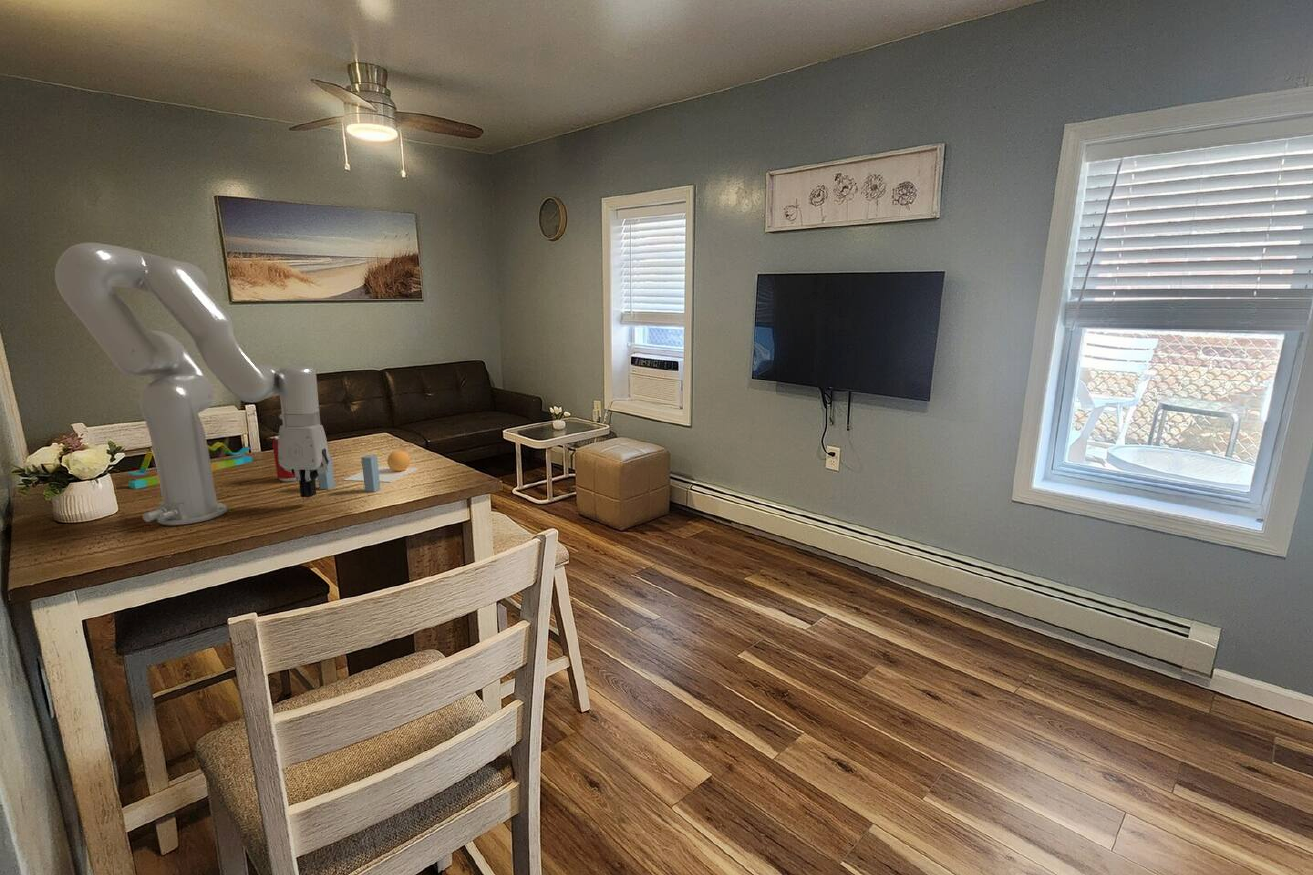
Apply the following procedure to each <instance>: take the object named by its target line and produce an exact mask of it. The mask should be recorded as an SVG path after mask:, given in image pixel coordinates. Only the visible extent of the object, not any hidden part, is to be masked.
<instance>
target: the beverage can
mask: <svg viewBox="0 0 1313 875" xmlns="http://www.w3.org/2000/svg"><path fill="white" fill-rule="evenodd" d="M278 436H279V435H277V436H275V437H274V440H273V442H272V448H273V450H272V451H273V455H274V463H275V470H276V477H277V479H279V480H280V481H281V482H294V481H297V480H296V477H295V475H294V474H293V473H292V472H289V471H286V470H284V468H283V467H281V466H280V464H279V457H278Z"/></svg>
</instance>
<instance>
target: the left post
mask: <svg viewBox="0 0 1313 875" xmlns="http://www.w3.org/2000/svg"><path fill="white" fill-rule="evenodd" d="M327 467H328V472H326V473H323V474H319V475H318V478H317V482H318V483H317V484H318V490H325V491H327V490H328V491H329V490H331V489H333V488H335V487H336V486H335V484H336V483H335V478H334V476H335V475H334V468H333V459H332V454H331V453H329V464H328V465H327ZM318 469H319V467H318Z"/></svg>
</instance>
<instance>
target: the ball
mask: <svg viewBox="0 0 1313 875" xmlns="http://www.w3.org/2000/svg"><path fill="white" fill-rule="evenodd" d="M386 464H387V467H390V468H391V469H392V470H394V471H403V470H405V469H407V468H409V467H410V464H411V458H410V455H409V454H408V453H407V452H406V451H403V450H394V451H393V452H391V453H389V455H388V456H387V463H386Z"/></svg>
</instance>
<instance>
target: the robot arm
mask: <svg viewBox="0 0 1313 875" xmlns="http://www.w3.org/2000/svg"><path fill="white" fill-rule="evenodd" d="M54 280H55V285H56V288H57V290H58V292H59V294H60V295H61V297H62V299H63V301H64V302H65V303H66V305H67V306H68V307H69V308H70V309H71V311H72V312H73V313H74V314H75V315H76V317H77V318H78V319H79V320H80V321H81V323H82V324H83V325H84V326H85V327H86V329H87V331H88V332H89V334H90V335H91V336H92V338H93V339H94V340H95V341H96V342H97V345H99V346H100V347H101V349H102V350H103V352H104V353H105V354H106V355H107V357H108V358H109V359H110V360H111V362H112V363H113V364H114V365H115V367H116V368H118V370H119V371H121V372H122V373H124V374H126V375H128V376H132V377H146V376H147V377H149V378H150V379H151V380H152V381H151V382H149V383H148V384H146V386H145V387H144V388H143V389H142V390H141V392H140V395H139V407H140V411H141V414H142V417H143V419H144V422H145V424H146V428H147V430H148V434H149V437H150V443H151V448H152V452H153V453H154V456H153V458H154V461H155V467H156V473H157V475H158V478H159V488H160V493H161V499H162V501H161V502H159V503H158V507H157V508H156V509H155V510H151V511H149V512H145V513H143V515H142V519H143V520H144V521H145V522H146V523H150V522H152V521H155V520H157V523H158V524H160V525H165V526H181V525H191V524H196V523H200V522H205V521H208V520H212V519H215V518H217V517H220V516H221V515H222V516H223V515H224V514H225V513H226V512H227V511H228V510H227V509H228V507H227V505H226V504H224V503H223V502H222V503H221V502H218V500H217V499H218V498H217V495H216V494H217V493H216V489H215V488H216V486H215V482H214V477H213V476H214V475H213V471H212V469H211V463H212V462H211V459H210V458H211V457H210V452H209V450H208V446H209V445H208V443H207V436H206V432H205V429H204V426H203V424H202V421H201V419H200V416H199V413H201V412H203V411H206V410H207V409H208V408H209V407H210V406H211V405H212V403H213V401H214V396H215V392H214V388H213V386H212V384H211V382H210V380H209V379H208V378H207V376H206V374H204V372H203V371H202V369H201V368H200V367H199V365H198V363H197V362H195V360H194V358H193V357H192V356H191V354H190V353H189V352H188V350H187V349H186V347H184V346H183V344H182V343H181V342H180V341H179V340H177V339H176V338H175V337H174V336H172V335H171V334H169V333H167V332H164V331H161V330H155V329H148V328H147V327H146V325H145V324H144V323H143V322H142V321H141V319H140V318H139V317H138V316H137V314H136V313H135V311H134V310H133V309H132V307H131V306H130V305H129V304H128V303H127V302H126V301H125V300H124V299H123V298H122V297H120V296H119V295H118V294H117V292H116V291H115V289H114V288H126V289H132V290H137V291H139V292H140V291H141V292H145V293H149V294H152V296H153V297H155V299H156V300H157V301H158V303H159V304H161V305H162V307H164V309H165V310H166V311H167V312H168V313H169V314H170V315H171V316H172V317H173V318H174V320H175V321H176V322H177V323H178V324H179V325H180V326H181V328H182V329H183V330H184V331H185V332H186V333H187V334H188V335H189V336H190V338H191V339H192V340H193V342H194V345H195V347H196V349H197V351H198V353H199V354H200V356H201V358H202V360H203V362H204V363H205V365H206V366H207V368H208V370H209V371H210V373H212V375H214V376H215V378H216V380H218V381H219V382H220V383H221V384H222V385H223V386H224V387H225V389H226V390H227V391H228V392H229V393H230V394H231V395H233V396H234V397H236V398H237V399H238V400H241V401H243V402H247V403H259V402H261V401H263V400H266V399H268V398H272V397H274V396H279V399H280V409H281V410H280V411H281V413H279V416H278V417H279V419H280V420H282V425H280V426H279V431H278V435H277V436H278V457H279V464H280V466H281V467H283V468H284V470H286V471H289V472H292V473H293V474H294V475H295V477H296V481H298V482H299V483H298V484H299V494H300V498H306V499H309V498H310V497H313V496H316V495H317V485H316V479H318V475H319V474H323V473H326V472H328V467H327V465H328V464H329V445H328V441H327V440H328V439H327V436H326V432H325V429H324V426H323V424H321V416H320V404H319V395H318V394H319V393H318V392H319V391H318V383H317V382H318V381H317V372H316V369H315V368H313V367H312V366H309V365H308V366H307V365H287V366H281V365H274V364H273V365H272V364H254V363H253V362H252V360H251V359H250V358H249V357H248V356H247V355H246V353H245V352H244V351H243V350H242V348H241V347H240V345H239V344H238V341H237V340H236V337H235V334H234V323H233V319H232V318H231V316H230V315H229V314H228V313H227V311H226V310H225V309H224V308H223V307H222V306H221V305H220V303H218V301H217V300H216V299H215V298H214V297H213V295H211V294H212V293H210V292H209V291H208V290H209V280H208V278H207V275H206V274H205V273H204V271H203V270H202V269H201V268H199V267H197V265H195V264H192V263H190V262H187V261H183V260H182V261H181V260H177V259H172V258H168V257H164V256H160V255H156V254H154V253H148V252H146V251H145V252H144V251H141V250H137V249H133V248H129V247H122V246H118V245H113V244H107V243H106V244H105V243H100V242H99V243H98V242H83V243H82V242H81V243H78V244H74V245H71V246H70V247H68V248H67V249H66V250H65V251H64V252H63V253H62V254H61V255H60V256H59V258H58V260H57V262H56V265H55V269H54ZM207 445H208V446H207ZM318 467H319V469H318Z"/></svg>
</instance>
